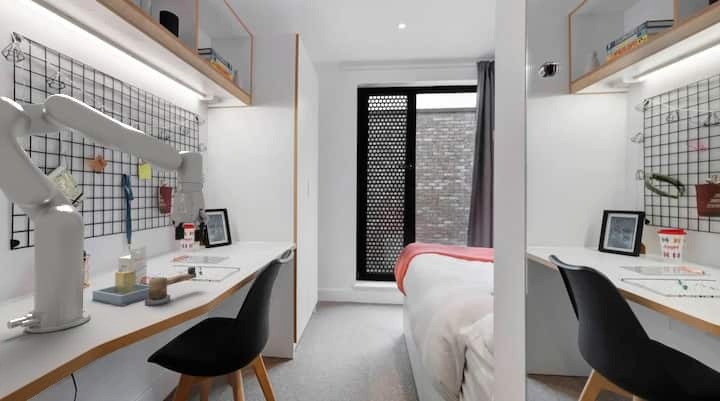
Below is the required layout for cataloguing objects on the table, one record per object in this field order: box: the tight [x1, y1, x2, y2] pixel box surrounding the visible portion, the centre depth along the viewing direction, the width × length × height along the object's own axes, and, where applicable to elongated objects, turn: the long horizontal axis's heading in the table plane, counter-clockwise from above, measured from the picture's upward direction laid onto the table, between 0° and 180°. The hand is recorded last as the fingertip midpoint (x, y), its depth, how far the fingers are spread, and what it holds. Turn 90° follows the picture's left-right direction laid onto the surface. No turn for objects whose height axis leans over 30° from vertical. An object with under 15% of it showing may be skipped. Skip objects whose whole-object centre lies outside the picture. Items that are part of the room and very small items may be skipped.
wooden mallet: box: [148, 266, 197, 299], centre depth 108 cm, size 17×5×7 cm, turn 160°
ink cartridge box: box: [117, 246, 148, 285], centre depth 119 cm, size 9×5×15 cm, turn 179°
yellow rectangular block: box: [114, 270, 136, 295], centre depth 106 cm, size 4×4×8 cm
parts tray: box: [92, 283, 149, 307], centre depth 106 cm, size 12×14×3 cm
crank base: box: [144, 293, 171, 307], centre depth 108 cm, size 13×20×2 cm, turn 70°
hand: (189, 240), depth 106 cm, fingers open, 7 cm apart
